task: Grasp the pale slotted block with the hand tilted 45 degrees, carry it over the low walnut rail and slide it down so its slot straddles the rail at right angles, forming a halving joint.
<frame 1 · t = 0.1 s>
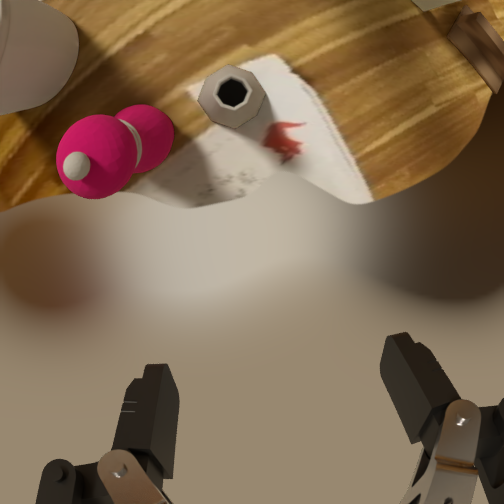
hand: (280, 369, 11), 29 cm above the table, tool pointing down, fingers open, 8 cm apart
walnut rail: (481, 49, 30), on the table
pepper mill: (148, 134, 34), on the table
utensil holder: (37, 59, 28), on the table
flask: (231, 96, 33), on the table
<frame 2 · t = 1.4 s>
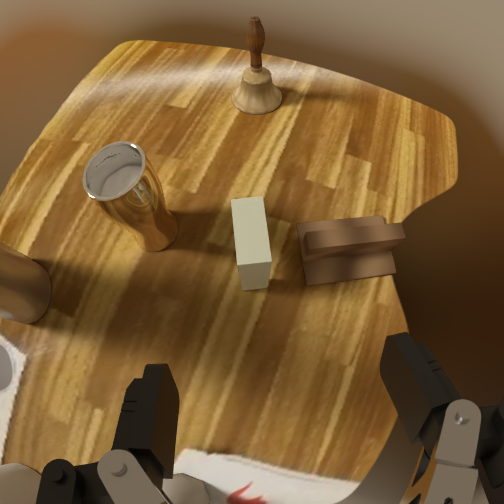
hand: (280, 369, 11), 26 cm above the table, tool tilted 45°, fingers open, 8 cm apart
walnut rail: (346, 249, 40), on the table
beer glass: (156, 230, 41), on the table
utensil holder: (34, 499, 28), on the table
flask: (182, 495, 30), on the table
hand bell: (256, 98, 48), on the table
pale slotted block: (251, 263, 39), on the table
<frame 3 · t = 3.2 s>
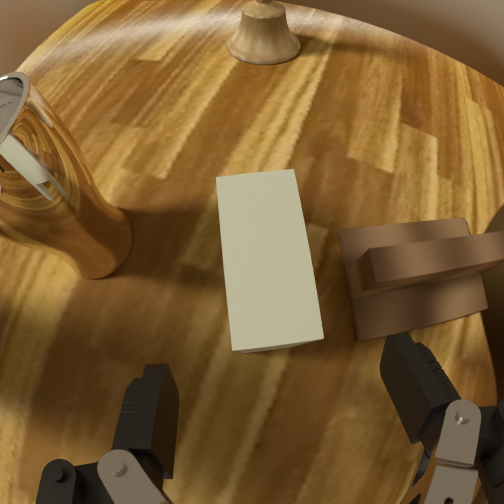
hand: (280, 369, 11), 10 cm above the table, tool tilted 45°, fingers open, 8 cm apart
walnut rail: (419, 274, 22), on the table
beer glass: (99, 242, 23), on the table
hand bell: (263, 46, 31), on the table
pale slotted block: (261, 303, 21), on the table
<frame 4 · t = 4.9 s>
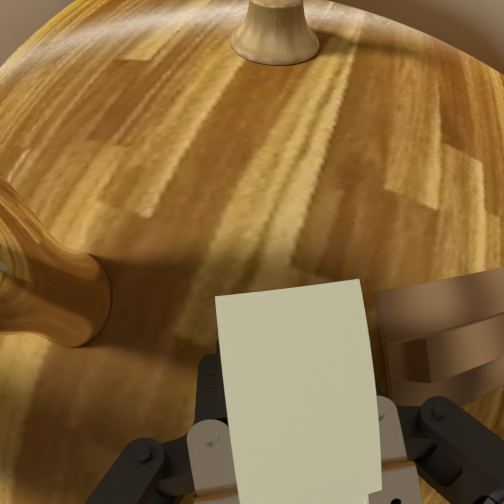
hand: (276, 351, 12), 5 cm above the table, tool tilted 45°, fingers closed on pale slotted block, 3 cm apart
walnut rail: (464, 339, 16), on the table
beer glass: (72, 299, 18), on the table
hand bell: (274, 42, 25), on the table
pale slotted block: (276, 389, 16), on the table, touching gripper
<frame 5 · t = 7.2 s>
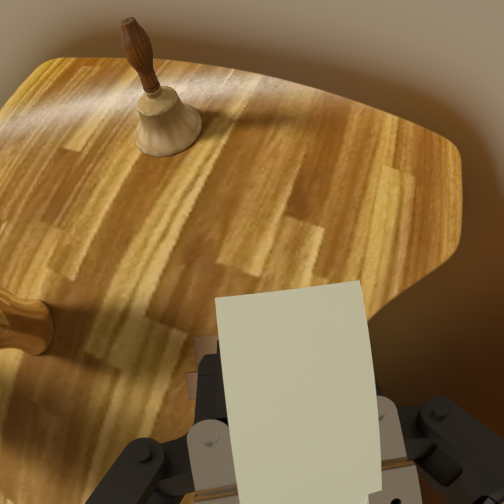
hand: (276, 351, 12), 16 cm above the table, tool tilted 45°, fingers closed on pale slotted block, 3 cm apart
walnut rail: (267, 375, 26), on the table
beer glass: (35, 327, 28), on the table
hand bell: (168, 130, 35), on the table
pale slotted block: (276, 389, 16), point 11 cm above the table, touching gripper
when the fingers open (6 cm above the table, at t = 9.5 s): pale slotted block stays where it is, resting on walnut rail.
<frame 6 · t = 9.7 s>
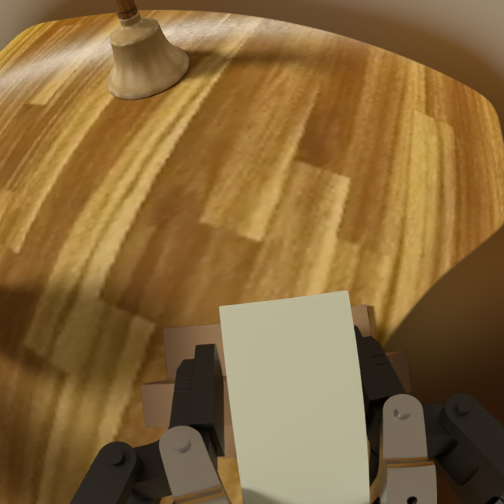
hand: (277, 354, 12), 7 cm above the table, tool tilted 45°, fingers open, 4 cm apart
walnut rail: (274, 386, 17), on the table
hand bell: (148, 72, 26), on the table
pale slotted block: (275, 388, 17), point 1 cm above the table, touching walnut rail
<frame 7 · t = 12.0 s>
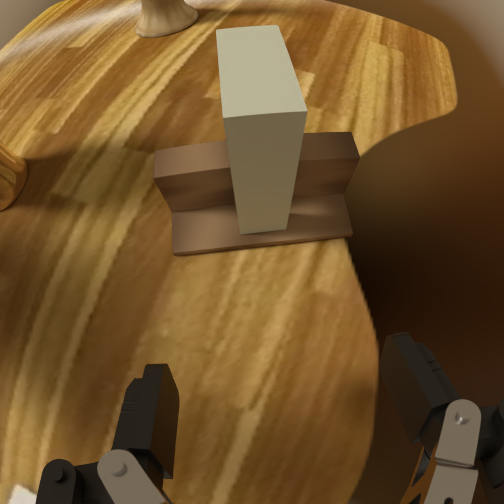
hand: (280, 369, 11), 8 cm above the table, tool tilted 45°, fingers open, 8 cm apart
walnut rail: (257, 193, 23), on the table
beer glass: (7, 185, 24), on the table
hand bell: (166, 22, 32), on the table
pale slotted block: (257, 189, 22), point 1 cm above the table, touching walnut rail
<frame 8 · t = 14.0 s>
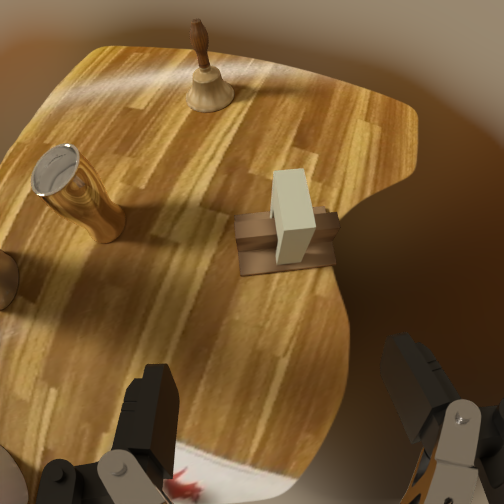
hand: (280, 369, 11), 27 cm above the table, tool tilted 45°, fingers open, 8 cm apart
walnut rail: (284, 240, 41), on the table
beer glass: (107, 224, 42), on the table
utensil holder: (2, 475, 29), on the table
hand bell: (210, 96, 50), on the table
pale slotted block: (285, 239, 40), point 1 cm above the table, touching walnut rail
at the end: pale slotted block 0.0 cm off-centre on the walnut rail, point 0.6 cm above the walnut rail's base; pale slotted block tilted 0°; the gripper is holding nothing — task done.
